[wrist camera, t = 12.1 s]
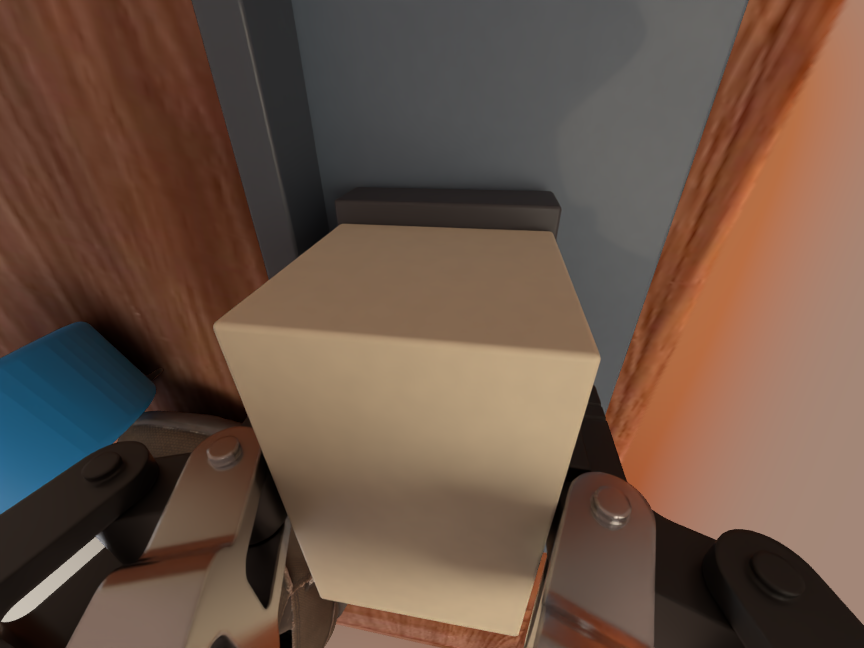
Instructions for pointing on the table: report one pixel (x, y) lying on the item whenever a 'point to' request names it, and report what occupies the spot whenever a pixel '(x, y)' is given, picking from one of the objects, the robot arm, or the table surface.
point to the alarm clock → (63, 405)
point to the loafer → (299, 601)
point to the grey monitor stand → (477, 119)
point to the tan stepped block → (420, 397)
